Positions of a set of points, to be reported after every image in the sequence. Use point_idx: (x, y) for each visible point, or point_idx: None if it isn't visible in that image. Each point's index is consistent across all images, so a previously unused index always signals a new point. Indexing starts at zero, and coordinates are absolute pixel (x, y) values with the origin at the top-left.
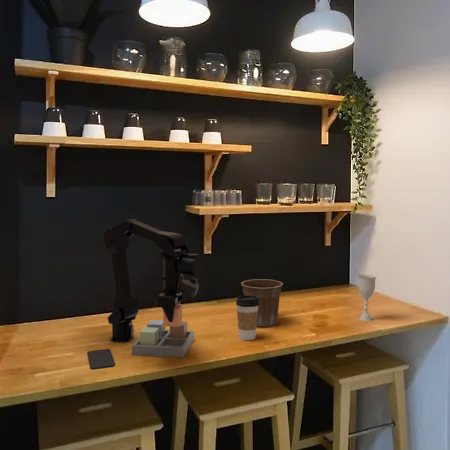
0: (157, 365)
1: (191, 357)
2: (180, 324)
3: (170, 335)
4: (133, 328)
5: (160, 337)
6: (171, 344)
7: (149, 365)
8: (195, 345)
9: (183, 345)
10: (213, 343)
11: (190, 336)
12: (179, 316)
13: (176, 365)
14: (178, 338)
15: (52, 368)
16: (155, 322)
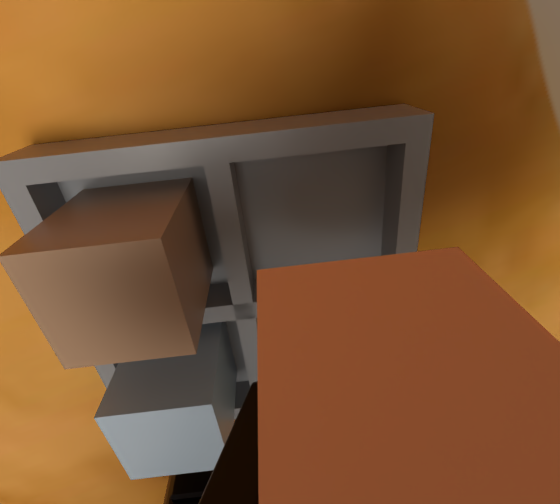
0: (522, 214)
1: (394, 39)
2: (125, 288)
3: (206, 294)
4: (174, 476)
5: (240, 334)
6: (248, 248)
7: (517, 250)
8: (146, 91)
9: (364, 135)
10: None
11: (135, 150)
12: (472, 340)
13: (536, 103)
14: (219, 227)
15: None
16: (170, 448)
